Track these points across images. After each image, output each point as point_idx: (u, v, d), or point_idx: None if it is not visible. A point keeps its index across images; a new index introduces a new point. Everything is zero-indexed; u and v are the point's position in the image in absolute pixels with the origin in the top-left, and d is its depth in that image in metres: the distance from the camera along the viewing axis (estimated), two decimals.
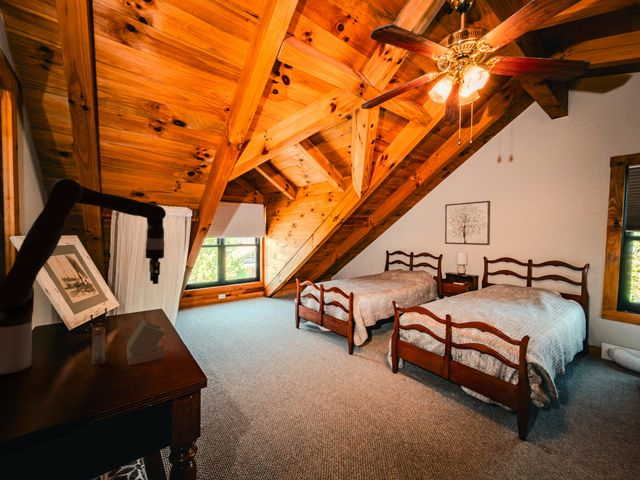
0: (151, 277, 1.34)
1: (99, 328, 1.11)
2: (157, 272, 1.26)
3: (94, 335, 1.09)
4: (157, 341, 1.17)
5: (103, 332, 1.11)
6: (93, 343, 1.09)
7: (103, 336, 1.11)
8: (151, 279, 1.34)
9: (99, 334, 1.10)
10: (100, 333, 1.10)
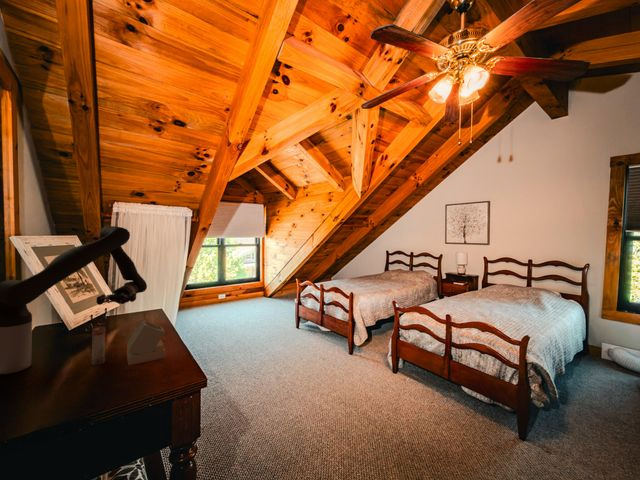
0: (101, 300, 1.22)
1: (99, 328, 1.11)
2: None
3: (94, 335, 1.09)
4: (157, 341, 1.17)
5: (103, 332, 1.11)
6: (93, 343, 1.09)
7: (103, 336, 1.11)
8: (100, 300, 1.21)
9: (99, 334, 1.10)
10: (100, 333, 1.10)
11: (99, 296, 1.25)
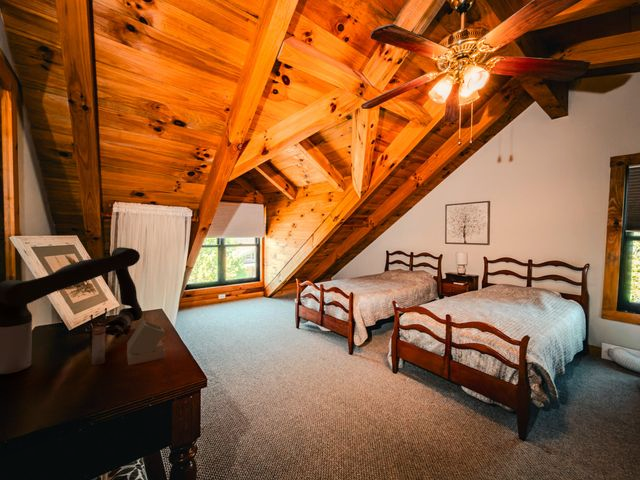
0: None
1: (99, 328, 1.11)
2: (127, 332, 1.24)
3: (94, 335, 1.09)
4: (157, 341, 1.17)
5: (103, 332, 1.11)
6: (93, 343, 1.09)
7: (103, 336, 1.11)
8: None
9: (99, 334, 1.10)
10: (100, 333, 1.10)
11: (92, 329, 1.20)
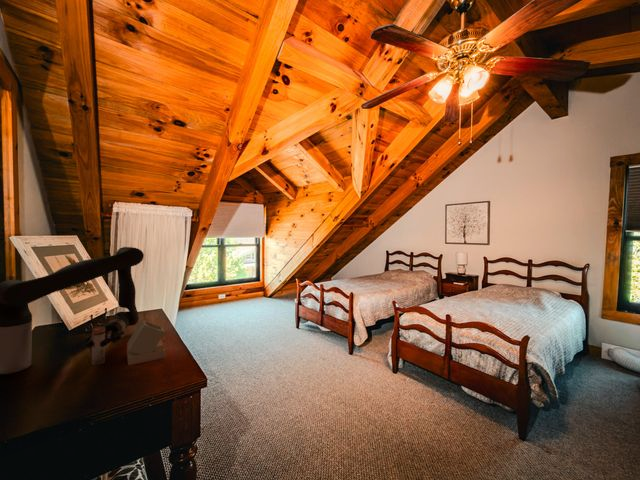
0: (91, 342, 1.09)
1: (99, 328, 1.11)
2: None
3: (94, 335, 1.09)
4: (157, 341, 1.17)
5: (103, 332, 1.11)
6: (93, 343, 1.09)
7: (103, 336, 1.11)
8: (90, 343, 1.09)
9: (99, 334, 1.09)
10: (100, 333, 1.10)
11: (87, 336, 1.13)
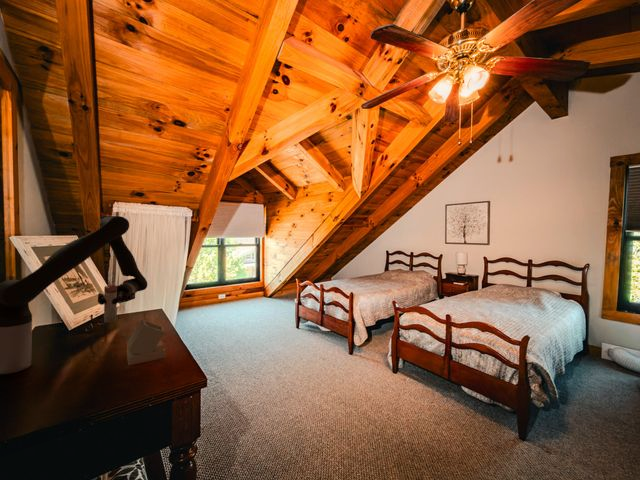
0: (103, 299, 1.11)
1: (111, 286, 1.12)
2: (126, 298, 1.17)
3: (106, 292, 1.10)
4: (157, 341, 1.17)
5: (115, 290, 1.12)
6: (105, 300, 1.11)
7: (115, 294, 1.12)
8: (102, 300, 1.10)
9: (111, 292, 1.11)
10: (112, 291, 1.11)
11: (99, 295, 1.14)
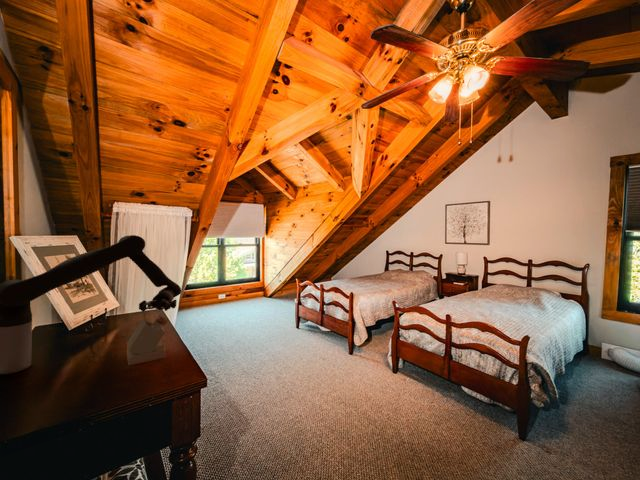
0: (145, 306, 1.19)
1: (164, 318, 1.23)
2: None
3: (157, 321, 1.20)
4: (157, 341, 1.17)
5: (164, 323, 1.22)
6: None
7: (161, 327, 1.21)
8: (144, 307, 1.18)
9: (161, 323, 1.20)
10: (162, 323, 1.21)
11: (141, 302, 1.22)
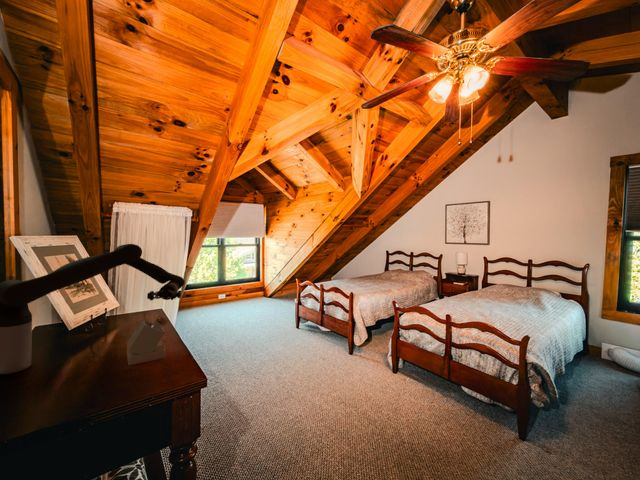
0: (153, 296, 1.31)
1: (164, 318, 1.23)
2: (179, 295, 1.38)
3: (157, 321, 1.20)
4: (157, 341, 1.17)
5: (164, 323, 1.22)
6: None
7: (161, 327, 1.21)
8: (152, 296, 1.30)
9: (161, 323, 1.20)
10: (162, 323, 1.21)
11: (149, 292, 1.35)
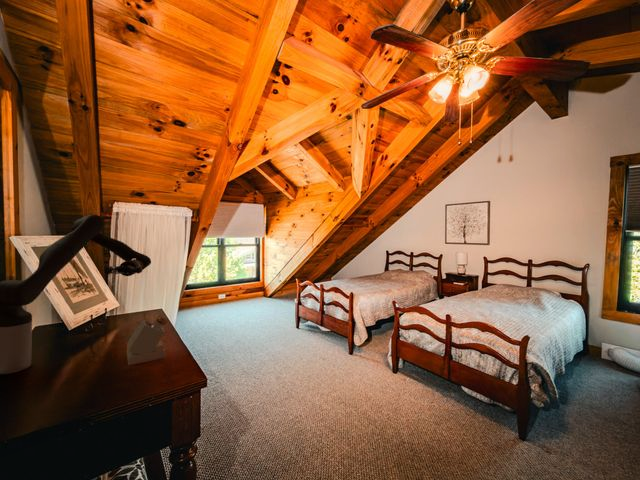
0: (109, 270, 1.27)
1: (164, 318, 1.23)
2: None
3: (157, 321, 1.20)
4: (157, 341, 1.17)
5: (164, 323, 1.22)
6: None
7: (161, 327, 1.21)
8: (108, 270, 1.26)
9: (161, 323, 1.20)
10: (162, 323, 1.21)
11: (107, 267, 1.30)
